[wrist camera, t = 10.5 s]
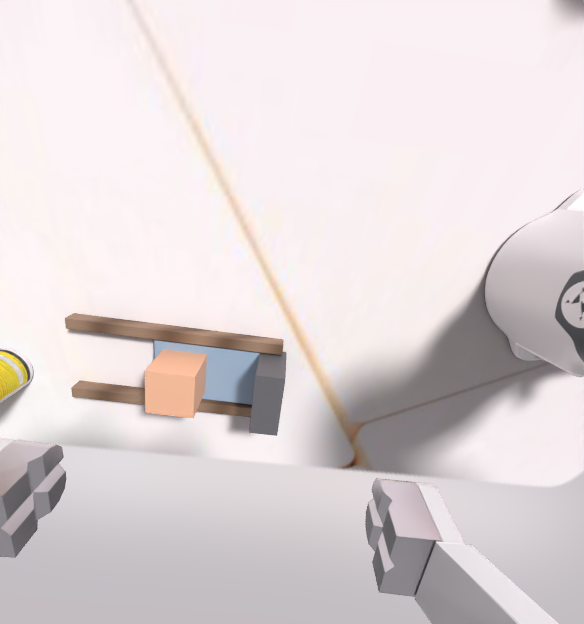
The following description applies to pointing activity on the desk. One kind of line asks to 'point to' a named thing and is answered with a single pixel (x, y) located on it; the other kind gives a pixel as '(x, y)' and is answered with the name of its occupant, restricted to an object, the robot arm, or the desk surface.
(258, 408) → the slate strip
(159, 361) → the terracotta cube
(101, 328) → the guide rails
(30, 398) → the desk surface
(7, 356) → the supplement bottle
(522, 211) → the desk surface
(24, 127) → the desk surface
